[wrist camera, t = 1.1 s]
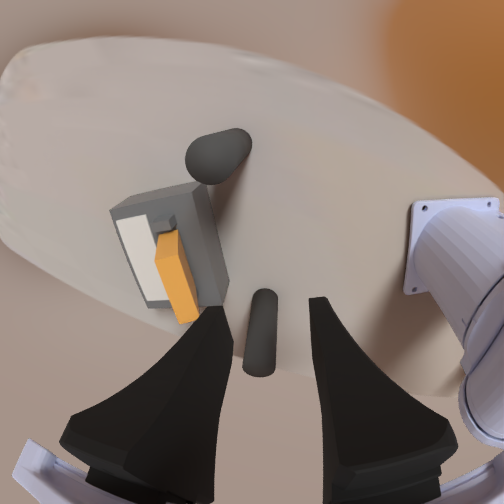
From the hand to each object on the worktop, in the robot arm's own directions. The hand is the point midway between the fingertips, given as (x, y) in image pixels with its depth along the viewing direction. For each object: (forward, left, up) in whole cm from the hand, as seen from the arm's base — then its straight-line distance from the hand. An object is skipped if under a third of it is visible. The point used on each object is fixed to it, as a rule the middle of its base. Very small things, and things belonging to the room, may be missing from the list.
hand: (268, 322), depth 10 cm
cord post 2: (+2, +6, -9) cm, 11 cm away
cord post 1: (+2, -6, -9) cm, 11 cm away
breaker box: (+7, 0, -9) cm, 12 cm away
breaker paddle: (+6, 0, -6) cm, 9 cm away
